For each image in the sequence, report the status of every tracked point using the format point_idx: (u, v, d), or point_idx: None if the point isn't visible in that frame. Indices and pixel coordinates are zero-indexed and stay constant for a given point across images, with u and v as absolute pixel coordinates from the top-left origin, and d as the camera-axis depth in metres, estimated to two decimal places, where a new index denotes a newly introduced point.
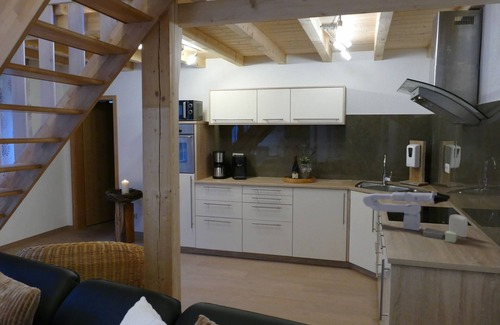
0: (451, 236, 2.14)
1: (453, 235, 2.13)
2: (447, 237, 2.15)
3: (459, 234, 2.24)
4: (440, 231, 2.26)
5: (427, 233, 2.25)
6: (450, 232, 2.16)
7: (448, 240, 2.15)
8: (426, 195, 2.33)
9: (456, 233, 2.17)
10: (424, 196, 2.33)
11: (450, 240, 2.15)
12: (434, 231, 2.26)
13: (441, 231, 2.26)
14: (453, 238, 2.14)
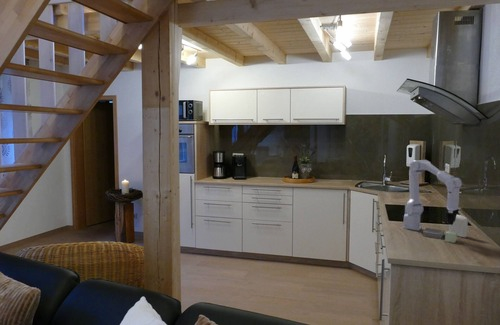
0: (451, 236, 2.14)
1: (453, 235, 2.13)
2: (447, 237, 2.15)
3: (459, 234, 2.24)
4: (440, 231, 2.26)
5: (427, 233, 2.25)
6: (450, 232, 2.16)
7: (448, 240, 2.15)
8: (455, 203, 2.12)
9: (456, 233, 2.17)
10: (454, 201, 2.11)
11: (450, 240, 2.15)
12: (434, 231, 2.26)
13: (441, 231, 2.26)
14: (453, 238, 2.14)
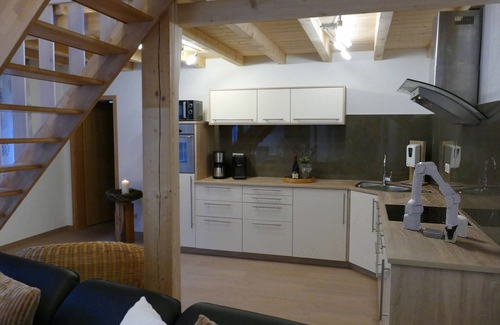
0: None
1: (453, 235, 2.13)
2: (447, 237, 2.15)
3: (459, 234, 2.24)
4: (440, 231, 2.26)
5: (427, 233, 2.25)
6: None
7: (448, 240, 2.15)
8: (454, 219, 2.13)
9: (456, 233, 2.17)
10: (453, 217, 2.12)
11: (450, 240, 2.15)
12: (434, 231, 2.26)
13: (441, 231, 2.26)
14: (453, 238, 2.14)
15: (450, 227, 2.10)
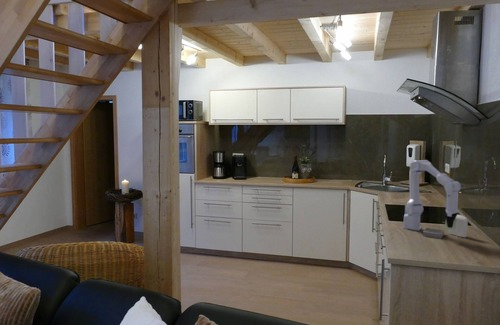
0: None
1: (453, 223, 2.13)
2: None
3: (459, 234, 2.24)
4: (440, 231, 2.26)
5: (427, 233, 2.25)
6: None
7: (448, 228, 2.15)
8: (454, 206, 2.12)
9: None
10: (453, 204, 2.12)
11: (450, 228, 2.14)
12: (434, 231, 2.26)
13: (441, 231, 2.26)
14: (453, 226, 2.13)
15: (450, 214, 2.09)
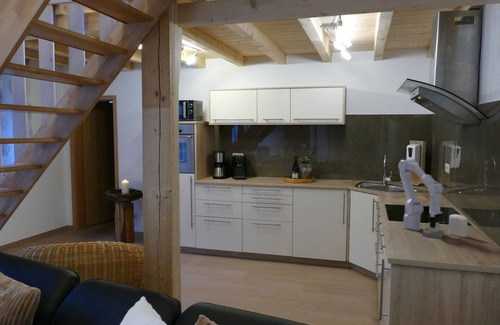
0: None
1: (436, 225, 2.24)
2: (430, 227, 2.26)
3: (459, 234, 2.24)
4: (440, 231, 2.26)
5: (427, 233, 2.25)
6: None
7: (431, 230, 2.25)
8: (437, 207, 2.23)
9: None
10: (436, 206, 2.23)
11: (433, 230, 2.25)
12: None
13: (441, 231, 2.26)
14: (436, 228, 2.24)
15: (433, 215, 2.20)
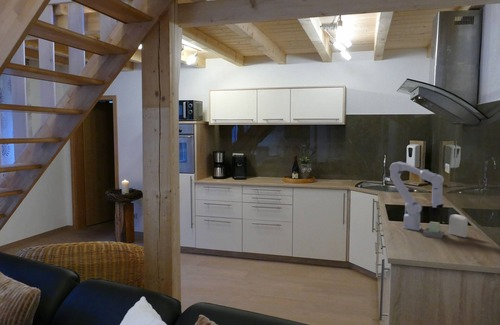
0: (435, 226, 2.24)
1: (436, 225, 2.24)
2: (431, 228, 2.25)
3: (459, 234, 2.24)
4: (440, 231, 2.26)
5: (427, 233, 2.25)
6: (433, 223, 2.26)
7: (432, 230, 2.25)
8: (439, 198, 2.27)
9: (439, 223, 2.27)
10: (438, 196, 2.27)
11: (434, 230, 2.25)
12: None
13: (441, 231, 2.26)
14: (436, 228, 2.24)
15: (435, 206, 2.25)
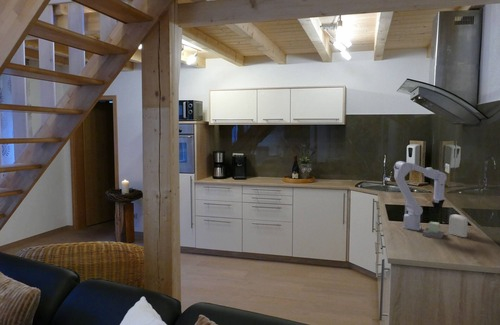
0: (434, 226, 2.24)
1: (436, 225, 2.23)
2: (430, 228, 2.25)
3: (459, 234, 2.24)
4: (440, 231, 2.26)
5: (427, 233, 2.25)
6: (433, 223, 2.26)
7: (431, 230, 2.25)
8: (441, 194, 2.37)
9: None
10: (440, 192, 2.37)
11: (433, 230, 2.25)
12: None
13: (441, 231, 2.26)
14: (436, 228, 2.24)
15: (437, 201, 2.34)
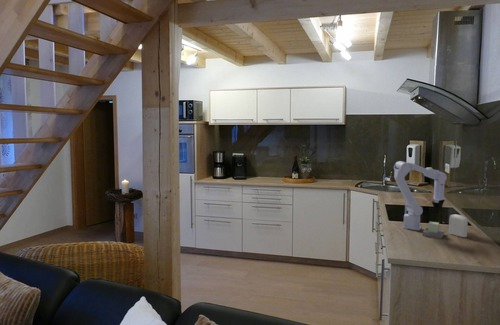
0: (434, 226, 2.24)
1: (435, 225, 2.24)
2: (430, 228, 2.25)
3: (459, 234, 2.24)
4: (440, 231, 2.26)
5: (426, 233, 2.25)
6: (433, 223, 2.26)
7: (431, 230, 2.25)
8: (441, 194, 2.37)
9: (438, 224, 2.27)
10: (440, 192, 2.37)
11: (433, 230, 2.25)
12: None
13: (441, 231, 2.26)
14: (435, 228, 2.24)
15: (437, 201, 2.34)
